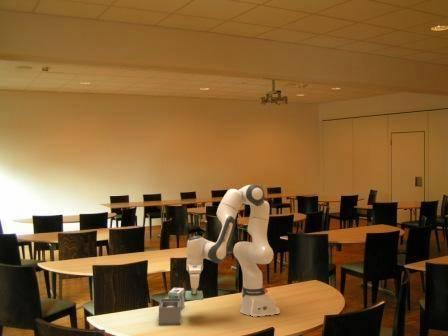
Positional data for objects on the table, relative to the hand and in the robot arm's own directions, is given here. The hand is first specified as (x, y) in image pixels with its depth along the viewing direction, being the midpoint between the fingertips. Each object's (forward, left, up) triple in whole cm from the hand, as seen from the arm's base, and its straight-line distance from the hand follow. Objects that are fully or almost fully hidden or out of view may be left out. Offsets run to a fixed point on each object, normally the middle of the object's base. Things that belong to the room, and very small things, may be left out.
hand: (194, 292), depth 243 cm
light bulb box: (+10, -19, -15) cm, 26 cm away
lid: (0, 0, -2) cm, 2 cm away
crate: (+13, 0, -15) cm, 19 cm away
